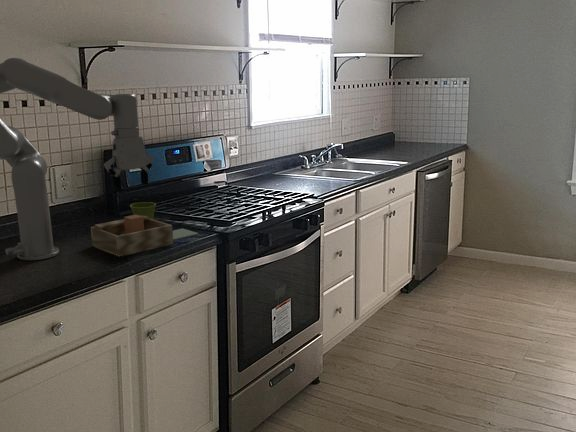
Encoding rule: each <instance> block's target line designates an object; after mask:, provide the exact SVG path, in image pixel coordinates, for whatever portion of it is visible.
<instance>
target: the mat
mask: <svg viewBox="0 0 576 432" xmlns="http://www.w3.org/2000/svg"><path fill="white" fill-rule="evenodd" d="M172 231H173V241H176V240H180V239H186V238H189V237H194V236H198V235H200V234H199V232H195V231H192V230H189V229H185V228H179V229H175V230H172Z"/></svg>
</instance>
